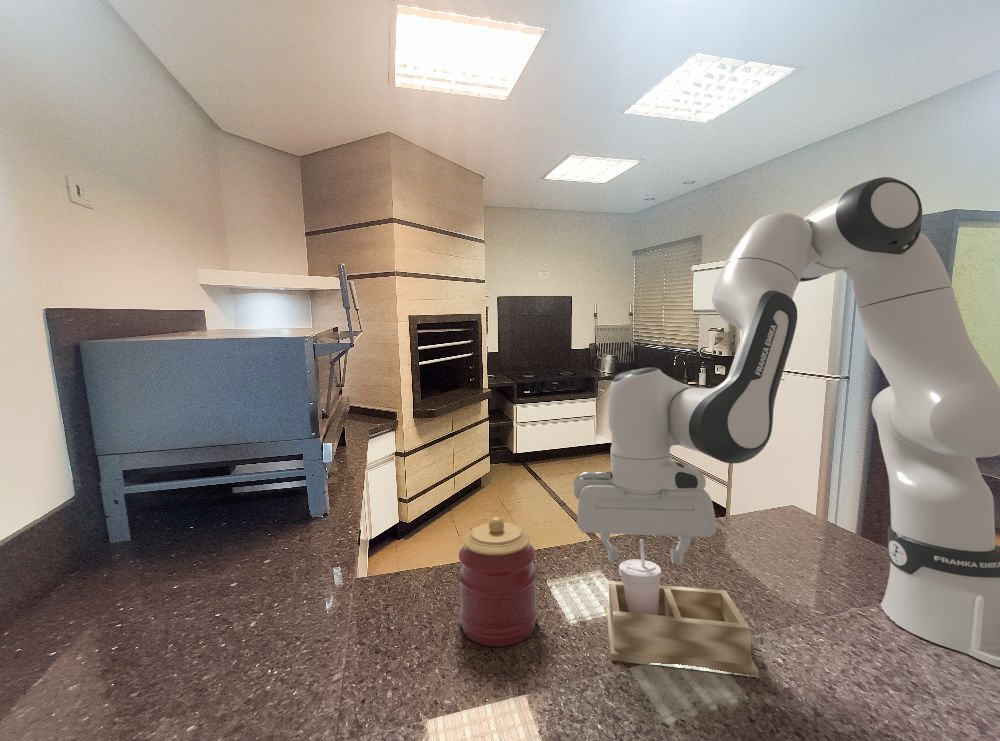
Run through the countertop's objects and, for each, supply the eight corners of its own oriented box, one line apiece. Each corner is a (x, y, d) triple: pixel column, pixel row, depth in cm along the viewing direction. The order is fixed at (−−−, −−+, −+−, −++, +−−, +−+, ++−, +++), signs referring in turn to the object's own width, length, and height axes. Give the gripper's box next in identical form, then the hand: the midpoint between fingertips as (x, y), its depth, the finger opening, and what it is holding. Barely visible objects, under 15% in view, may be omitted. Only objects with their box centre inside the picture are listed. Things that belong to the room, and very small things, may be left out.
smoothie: (670, 645, 58) (663, 548, 58) (624, 642, 59) (618, 546, 60) (661, 620, 64) (655, 532, 65) (621, 617, 65) (615, 531, 66)
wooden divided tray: (727, 624, 64) (726, 587, 64) (759, 678, 53) (757, 633, 53) (606, 612, 68) (605, 577, 68) (611, 660, 57) (610, 618, 57)
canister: (462, 654, 59) (459, 536, 59) (458, 604, 72) (455, 507, 72) (546, 643, 61) (543, 529, 61) (527, 596, 74) (525, 502, 74)
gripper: (572, 476, 60) (576, 567, 60) (717, 477, 56) (722, 575, 56) (573, 467, 66) (577, 549, 66) (703, 467, 62) (708, 555, 62)
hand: (644, 561), depth 61 cm, fingers open, 8 cm apart
